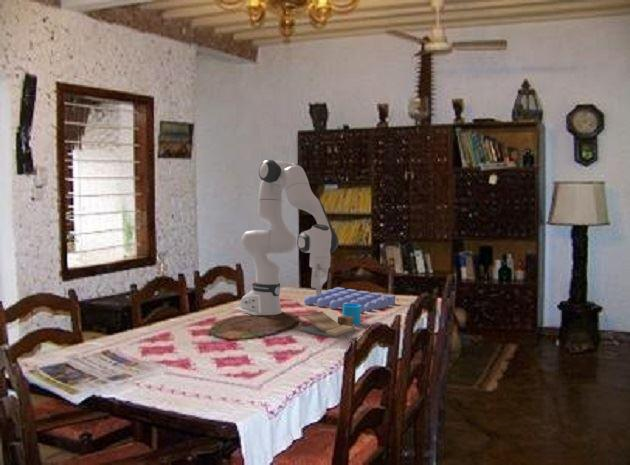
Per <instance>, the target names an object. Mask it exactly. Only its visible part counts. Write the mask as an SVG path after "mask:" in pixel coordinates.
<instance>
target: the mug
mask: <svg viewBox="0 0 630 465" xmlns="http://www.w3.org/2000/svg"><path fill="white" fill-rule="evenodd" d="M361 314H362V313H361V305H359V304H353V303H348V304H343V308H342V315H346V316H352V317H354V318H353V326H358V325H361V319H362V318H361Z"/></svg>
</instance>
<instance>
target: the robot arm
mask: <svg viewBox="0 0 630 465" xmlns="http://www.w3.org/2000/svg"><path fill="white" fill-rule="evenodd" d="M258 176H259V178H260V179H261V181H260V184H259V189H258V198H257V200H258V201H257V216H258V218H259V219H260V221H261V222H264V223H265V224H267V225H268V226H269V227H270V229H253V230H252V229H251V230H246V231H244V233H243V234H242V235H241V239H240V244H241V247H242V249H243V250H244V251H245V252H246V253H247V254H248V255H249V256H250V257H251V259H252V260H253V262H254V268H255V281H254V283H252V284H250V286H251V287H252V289H251V290H250V291H249V292H247V293H246V294H245V295H243V296H242V298H241V300H240V305H239V306H236V307H235V311H237V312H242V313H245V314H249V315H252V316H276V315H280V314H282V307H281V299H280V292H281V283H280V275H281V274H280V271H281V269H280V266H279V264H278V263H276V262H275V261H273V260H271V259H270V258H269V257H267V256H268V255H269V254H270V255H271V254H275V255H283V254H291V253H292V252H294V250H296V247H297V248H298V249H299V250H300V251H301V252H302V253H305V254H307V253H308V254H309V265H308V266H309V267H310V268H311V277H310V278H311V281H310V287H311V288H312V289H315V292H316V293H315V294H316V295H317V296H320V295H321V292H323V291H322V290H323V285H324V284H325V283H326V282H327V280H328V276H329V275H328V274H329V269H330V268H331V258H332V257H331V254H333V253H334V252H335V251H336V249H337V248H338V247H339V242H340V240H339V237H338V234H337V233H336V231H335V229H334V228H333V227H332V226H333V225H332V223H331V221H330V219H329V217H328V215H327V212H326V210H325V208H324V205H323V203H322V202H321V200H320V199H319V198H318V197H317V196H316V195H315V194H314V193H313V191H312V189H311V186H310V183H309V179H308V177H307V174H306V171H305V170H304V168H303V167H302V166H301V165H299V164H298V163H292V162H289V161H287V160H286V161H285V160H274V159H266V160H264V161H263V162H261V164H260V165H259V168H258ZM283 189H284V190H283ZM283 191H285V194H286V198H287V201H288V202H289V205H290V206H293V207H294V208H295V209H298V210H302V211H304V212H307V213H308V214H310V215H312V216H313V218H314V220H315V221H316V224H313V225H312V226H311V228H309V229H307V230H304V231H301V232H300V233H299V235H298V236H297V238H296V236H295V234H294V233H293V232H292V231H291V230H290V229H289V228H288V227H287V226H286V224H285V222H284V220H283V211H282V210H283V209H282V204H283V202H282V201H283V196H282V194H283Z"/></svg>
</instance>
